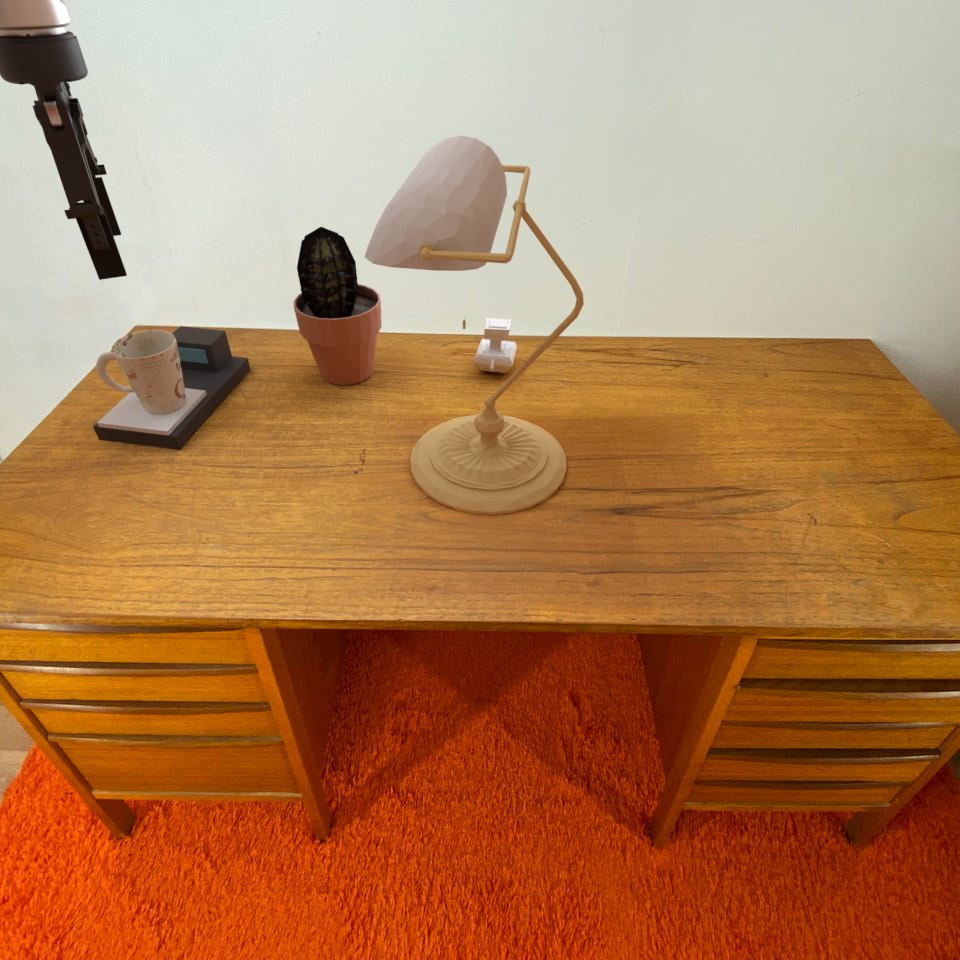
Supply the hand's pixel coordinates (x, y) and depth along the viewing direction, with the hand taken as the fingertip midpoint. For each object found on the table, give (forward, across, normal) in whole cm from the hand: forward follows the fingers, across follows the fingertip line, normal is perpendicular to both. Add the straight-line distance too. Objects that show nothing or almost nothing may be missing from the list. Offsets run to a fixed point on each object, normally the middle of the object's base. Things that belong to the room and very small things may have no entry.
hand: (111, 255), depth 74 cm
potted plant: (+29, +12, -28) cm, 42 cm away
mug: (+26, +10, +3) cm, 28 cm away
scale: (+29, +14, -1) cm, 32 cm away
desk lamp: (+29, -20, -39) cm, 52 cm away
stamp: (+29, +3, -52) cm, 60 cm away
